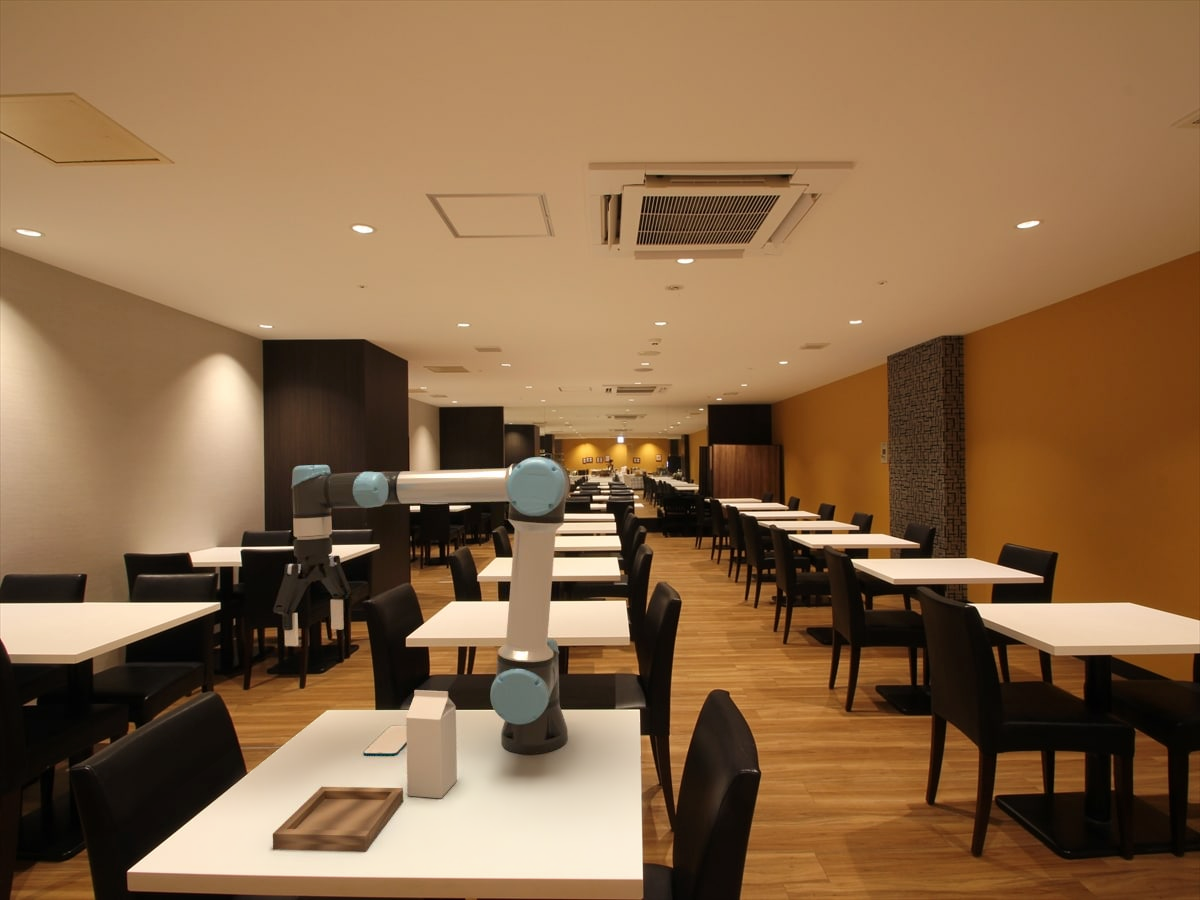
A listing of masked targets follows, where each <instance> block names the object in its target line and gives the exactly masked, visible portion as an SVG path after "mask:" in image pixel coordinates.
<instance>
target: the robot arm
mask: <svg viewBox="0 0 1200 900" xmlns="http://www.w3.org/2000/svg"><path fill="white" fill-rule="evenodd" d="M291 479H292V480H291V491H292V512H293V515H292V517H293V522H292V523H293V536H294V537H295V539H294V541H293V556H294V557H296V558H297V560H296V561H297V562H296V563H286V564H285V565H284V574H283V575H284V576H283V578H282V582H281V584H280V585H281V586H279V591H278V593H277V597H276V600H275V604H274V605H273V609H272V611H273V613H275V614H276V613H277V614H278V615H281V616H282V617H281V619H282V620H281V621H282V630H283V631H284V646H285V647H297V646H299V623H298V622H299V620H298V612H295V611H296V609H297V608H298V605H299V603H300V602H301V599H302V597H303V596H304V593H305V591H306V589H308V588H307V587H308V586H309V585H310V584H312V583H314V582H317V581H320V582H322V584H323V586H324V587H325V588H326V589H327V591H328V592H329V594H330V595H331V596H332V599H330V620H331V623H330V624H331V625H330V627H331V630H344V625H345V624H344V623H345V622H344V612H345V599H346V600H347V599H348V598H349V595H350V594H351V592H352V591H351V587H350V585H349V582H348V580H347V577H346V574H345V571H344V570H343V568H342V565H341V556H340V555H331V554H332V553H333V538H331V537H332V536H330V535H332V534H333V527H332V523H333V522H332V509H351V508H352V509H356V508H357V509H358V508H359V509H361V508H364V509H368V508H369V509H371V508H375V507H382V506H384V505H400V504H435V503H436V504H437V503H438V504H439V503H440V504H441V503H447V504H448V503H483V502H487V503H488V502H489V503H490V502H509V504H508V505H509V507H508V519H507V521H509V524H511V526H513V528H514V533H513V534H514V536H513V548H512V560H511V561H512V562H511V573H510V574H511V575H510V585H509V586H510V587H509V588H510V589H509V600H508V601H509V602H508V613H507V627H506V638H505V639H506V640H505V643H504V644H503V645H502V646H501V647H500V648H498V650H497V660H496V670H495V671H496V672H495V678H494V680H493V681H492V683H491V687H490V694H489V695H490V697H489V698H490V703H491V706H492V708H493V711H494V712H495V713H496V714H497V715H498V716H499V717H500V718H501V719H502V720H503V721H504V722H503V725H502V728H501V736H500V737H501V738H500V739H501V741H500V742H501V746H502V747H503V748H504V749H505V750H507V751H509V752H512V753H515V754H523V755H537V754H543V753H547V752H548V753H549V752H552V751H554V750H555V751H556V750H557V749H560V748H561V747H563V746H564V745H566V743H567V741H568V739H569V738H568V737H569V735H568V734H569V733H568V725H567V722H566V719H565V717H564V714H563V712H562V708H561V706H560V688H559V687H560V679H559V678H560V675H559V673H560V672H559V654H560V651H559V645H558V642H557V640H556V639H554V638H551V637H549V636H548V635H549V623H550V610H551V598H552V586H553V585H552V584H553V574H554V573H553V572H554V560H555V559H554V557H555V544H556V532H557V530H558V529H560V528H561V527H562V526H563V525H564V523H565V510H566V509H565V508H566V499H567V498H568V495H569V493H570V491H571V483H572V482H571V476H570V474H569V471H567V469H566V467H565V466H564V465H563V464H561V463H560V462H559V461H557V460H555V459H553V458H549V457H542V456H536V457H534V456H533V457H529V458H525V459H524V460H521V462H519V463H512V464H511V465H510V466H508V467H507V468H505V467H504V468H503V467H502V468H481V469H480V468H473V469H472V468H471V469H439V470H411V471H410V470H409V471H408V470H407V471H379V472H378V471H376V472H375V471H363V472H360V471H359V472H358V471H357V472H345V473H343V472H342V473H333V472H331V468H330V466H329V465H327V464H314V465H313V464H311V465H305V464H304V465H297V466H295V467H294V468H293V469H292V478H291Z"/></svg>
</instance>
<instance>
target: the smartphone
mask: <svg viewBox="0 0 1200 900" xmlns="http://www.w3.org/2000/svg"><path fill="white" fill-rule="evenodd" d="M405 747H407V734H406V725H398V724H397V725H389V726H388V727H387V728H386V729H385V730H384V731H383V732H382V733H381V734H380V735H379V736H378V737H377V738H376V739H375V740H374V741H372V742H371V744H370V745H369V746H367V748H366V749H364V751H363V753H362V755H363V756H364V757H395V756H398V755H399V754H400V753H401V752H402V751H403V749H404V748H405Z"/></svg>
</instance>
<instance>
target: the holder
mask: <svg viewBox="0 0 1200 900" xmlns="http://www.w3.org/2000/svg"><path fill="white" fill-rule="evenodd" d="M403 803H404V788H403V787H370V786H369V787H363V786H362V787H361V786H358V787H355V786H350V787H349V786H320V788H319V789H318V790H316V792H314V793H313V794H312V795H311V796H310V797H309V798H308V799H307V800H306V801H305V802H304V803H303V804H302V805H300V807H299V808H298V809H297V810H296V811H295V812H294V813H293V814H291V815H290V816H289V817H288V818H287V819H286V820H285V821H284V822H283V823H282V824H281V825H280V826H279V827H278V828H277V829H276V830H275V831H274V832H273V833H272V849H273V850H294V851H295V850H297V851H298V850H299V851H339V852H342V851H343V852H344V851H345V852H367V851H368V849H369V848H370V847H371V845H372V844H373V842H374V841H375V840H376V838H377V837H378V836H379V835H380V833H381V832H382V830H383V829H385V826H386V825H387V824H388V822H389V821H390V820H391V818H392V817H393V815H395V813H396V812H397V810H398V809H399V808H400V806H401V805H402V804H403Z"/></svg>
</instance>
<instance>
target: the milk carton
mask: <svg viewBox="0 0 1200 900" xmlns="http://www.w3.org/2000/svg"><path fill="white" fill-rule="evenodd" d="M413 693H414V696H413V698H412V701H411V704H410V706H409V709H408V711H407V714H406V716H405V718H406V719H405V722H406V725H405V726H406V734H407V745H406V775H407V776H406V785H407V786H406V787H407V788H406V789H407V790H406V791H407V793H406V794H407V796H410V797H420V798H431V799H432V798H433V799H434V798H435V799H442V798H443V797H444V796H445V795H446V794H447V793H448V791H449V790H450V789H451V788H452V787H453V786H454V785H455V783H456V782H458V781H457V780H458V768H457V767H458V766H457V762H458V761H457V720H456V719H457V713H456V712H457V711H456V709H457V706H456V705H455V703H454V702H453V701H452V700H451V699H450V697H449V691H443V690H440V691H439V690H423V689H422V690H421V689H420V690H419V689H415V690H414V692H413Z"/></svg>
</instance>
